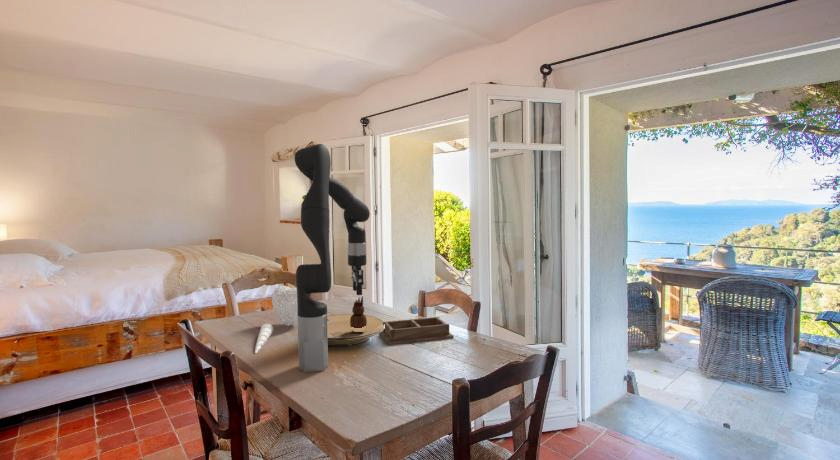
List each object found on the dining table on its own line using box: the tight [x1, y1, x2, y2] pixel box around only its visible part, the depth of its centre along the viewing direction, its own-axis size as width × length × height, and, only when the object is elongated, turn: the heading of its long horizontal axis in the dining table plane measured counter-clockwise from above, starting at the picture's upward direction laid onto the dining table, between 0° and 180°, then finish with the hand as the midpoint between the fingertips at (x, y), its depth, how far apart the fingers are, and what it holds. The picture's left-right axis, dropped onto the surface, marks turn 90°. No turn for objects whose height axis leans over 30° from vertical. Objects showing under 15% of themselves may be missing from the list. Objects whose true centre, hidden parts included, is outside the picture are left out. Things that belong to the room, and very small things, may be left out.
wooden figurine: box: [349, 295, 368, 328], centre depth 169 cm, size 7×6×15 cm
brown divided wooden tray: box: [379, 316, 455, 346], centre depth 164 cm, size 16×26×5 cm, turn 108°
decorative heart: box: [271, 285, 298, 328], centre depth 178 cm, size 18×11×17 cm, turn 57°
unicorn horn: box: [254, 323, 274, 354], centre depth 155 cm, size 5×24×5 cm, turn 7°
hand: (357, 292), depth 168 cm, fingers open, 8 cm apart
